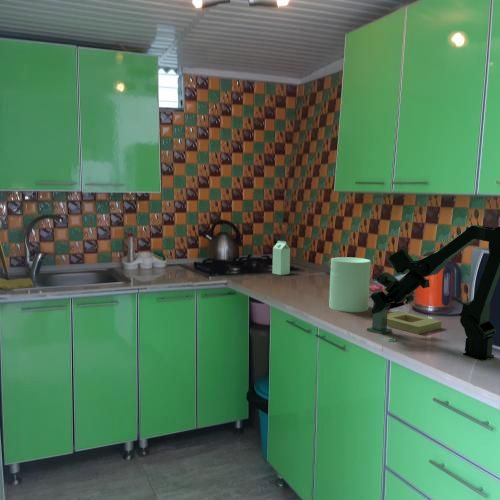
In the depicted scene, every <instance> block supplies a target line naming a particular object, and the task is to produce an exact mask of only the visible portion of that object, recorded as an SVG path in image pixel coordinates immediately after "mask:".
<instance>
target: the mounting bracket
mask: <svg viewBox="0 0 500 500" xmlns="http://www.w3.org/2000/svg"><path fill="white" fill-rule="evenodd" d="M383 336H384V337H387V338H388V337H389V336H387V335H382V336H379V337H375V338H374V339H375V340H377V341H379V340H380V341H379V342H383V340H381V339H384V337H383ZM380 338H381V339H380ZM385 339H386V338H385ZM387 341H389V342H388V343H396V342H397V340H396V339H395V338H394V339H387Z"/></svg>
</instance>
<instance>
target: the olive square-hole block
mask: <svg viewBox="0 0 500 500" xmlns="http://www.w3.org/2000/svg"><path fill="white" fill-rule="evenodd" d="M442 323H443V321H442V320H439V319H434V318H431V317H425V316H423V315H422V316H421V315H418V314H413V313H409V312H406V311H401V310H398V311H394V312H388V313H387V327H391V328H394V329H399V330H401V331H405V332H408V333H413V334H416V335H420V333H421V334H424V333H428V332H431V331H435V330H439V329H442V325H443V324H442Z"/></svg>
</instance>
